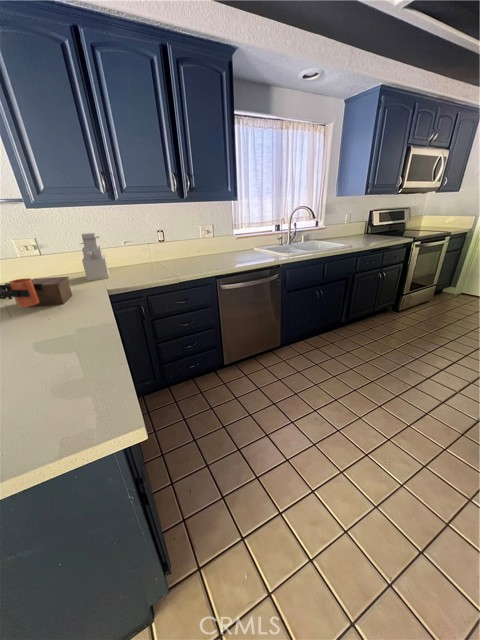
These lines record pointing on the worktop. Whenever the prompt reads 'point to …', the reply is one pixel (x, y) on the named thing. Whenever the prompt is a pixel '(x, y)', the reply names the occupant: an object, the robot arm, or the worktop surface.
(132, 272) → the worktop surface
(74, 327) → the worktop surface
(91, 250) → the blocky snowman figure
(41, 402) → the worktop surface
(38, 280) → the box lid
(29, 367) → the worktop surface
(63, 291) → the box
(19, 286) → the cup
